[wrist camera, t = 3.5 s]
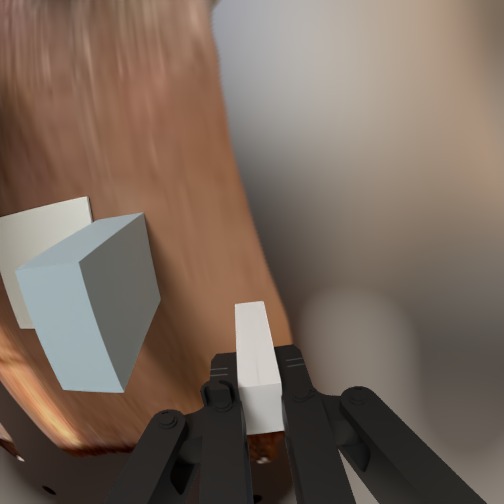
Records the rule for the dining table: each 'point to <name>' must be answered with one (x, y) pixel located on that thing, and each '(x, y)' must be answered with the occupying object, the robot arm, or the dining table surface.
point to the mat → (36, 242)
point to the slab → (93, 302)
